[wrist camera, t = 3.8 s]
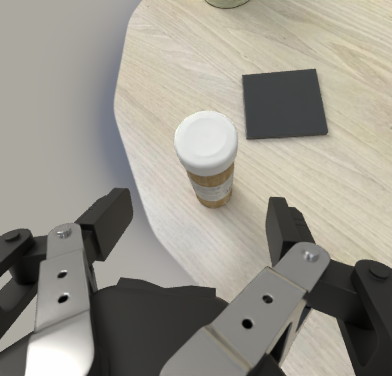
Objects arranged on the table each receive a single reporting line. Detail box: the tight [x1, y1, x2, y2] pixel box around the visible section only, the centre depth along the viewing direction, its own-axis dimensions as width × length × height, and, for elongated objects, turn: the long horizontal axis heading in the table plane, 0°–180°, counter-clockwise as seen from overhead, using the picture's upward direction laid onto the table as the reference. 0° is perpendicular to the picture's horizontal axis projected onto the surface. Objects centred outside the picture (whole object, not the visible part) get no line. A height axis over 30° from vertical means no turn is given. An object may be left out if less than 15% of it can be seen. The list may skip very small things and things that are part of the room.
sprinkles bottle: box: [174, 111, 238, 208], centre depth 22 cm, size 5×5×13 cm
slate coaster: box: [242, 69, 328, 139], centre depth 31 cm, size 10×10×1 cm
